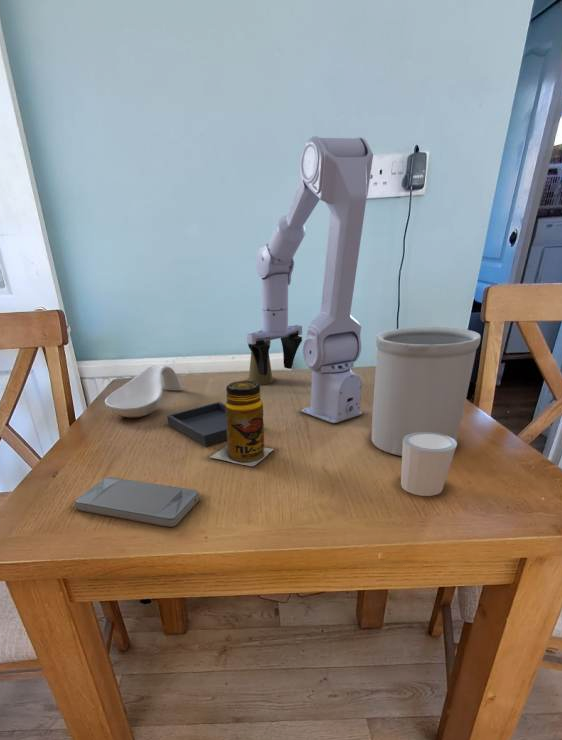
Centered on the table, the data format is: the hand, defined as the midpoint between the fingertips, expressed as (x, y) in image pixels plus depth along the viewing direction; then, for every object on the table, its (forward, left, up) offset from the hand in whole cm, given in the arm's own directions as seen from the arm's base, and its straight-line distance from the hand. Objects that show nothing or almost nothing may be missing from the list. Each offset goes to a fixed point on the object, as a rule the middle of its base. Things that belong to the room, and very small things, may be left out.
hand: (275, 371), depth 109 cm
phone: (-31, +50, -4) cm, 59 cm away
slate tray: (-13, +26, -4) cm, 29 cm away
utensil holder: (-42, +4, -4) cm, 42 cm away
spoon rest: (+9, +29, -4) cm, 31 cm away
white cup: (-53, +16, -4) cm, 55 cm away
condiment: (-27, +29, -4) cm, 40 cm away
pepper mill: (+6, 0, -4) cm, 7 cm away
